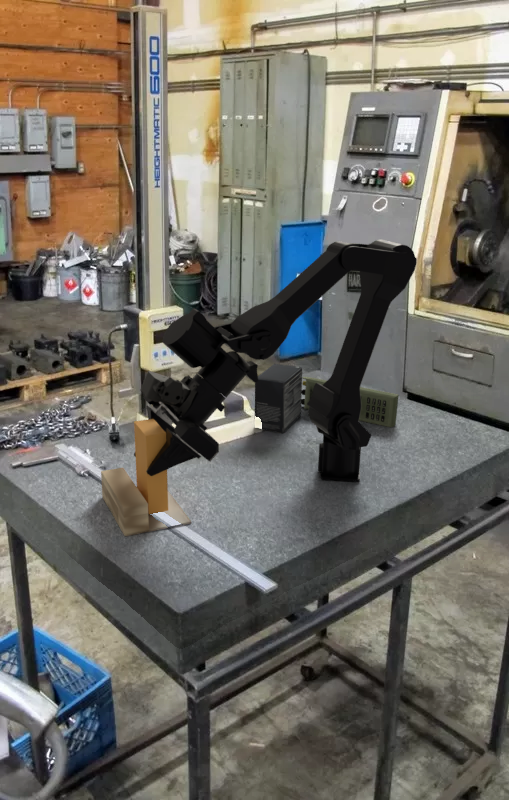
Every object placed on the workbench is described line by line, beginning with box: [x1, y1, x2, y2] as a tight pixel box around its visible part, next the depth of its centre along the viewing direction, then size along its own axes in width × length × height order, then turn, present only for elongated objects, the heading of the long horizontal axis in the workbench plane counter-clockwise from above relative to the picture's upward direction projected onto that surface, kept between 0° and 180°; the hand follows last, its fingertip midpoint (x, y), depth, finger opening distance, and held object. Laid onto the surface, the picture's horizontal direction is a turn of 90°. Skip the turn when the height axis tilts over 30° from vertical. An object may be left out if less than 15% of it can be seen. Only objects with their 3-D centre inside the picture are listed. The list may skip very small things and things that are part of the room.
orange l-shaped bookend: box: [133, 418, 169, 514], centre depth 113 cm, size 6×6×12 cm
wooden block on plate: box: [100, 467, 193, 537], centre depth 115 cm, size 10×13×4 cm
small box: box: [254, 363, 303, 434], centre depth 149 cm, size 11×6×10 cm, turn 157°
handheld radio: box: [301, 376, 400, 428], centre depth 154 cm, size 7×3×25 cm
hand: (142, 465), depth 113 cm, fingers closed on orange l-shaped bookend, 6 cm apart
